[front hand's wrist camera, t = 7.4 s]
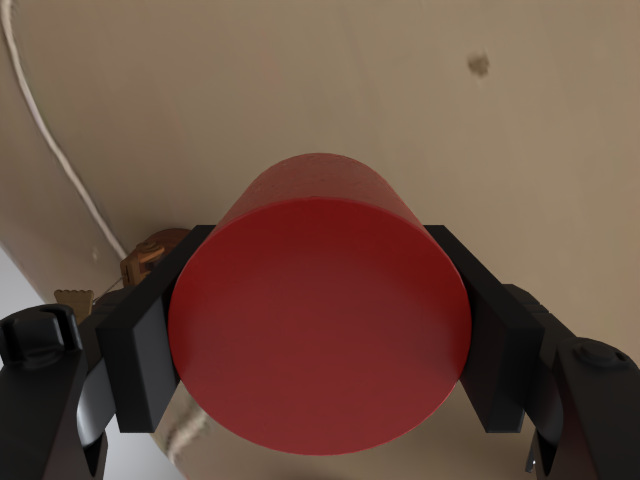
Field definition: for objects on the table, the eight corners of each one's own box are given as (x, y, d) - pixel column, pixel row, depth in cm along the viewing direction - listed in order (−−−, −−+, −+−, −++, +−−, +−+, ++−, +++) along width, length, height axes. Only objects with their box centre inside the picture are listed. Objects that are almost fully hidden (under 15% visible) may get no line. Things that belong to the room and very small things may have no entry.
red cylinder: (195, 243, 16) (105, 347, 9) (317, 111, 14) (315, 119, 7) (321, 346, 18) (322, 495, 11) (444, 240, 16) (535, 342, 9)
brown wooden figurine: (107, 231, 41) (-49, 335, 22) (202, 201, 41) (128, 278, 22) (167, 344, 46) (83, 507, 27) (252, 317, 46) (227, 463, 27)
